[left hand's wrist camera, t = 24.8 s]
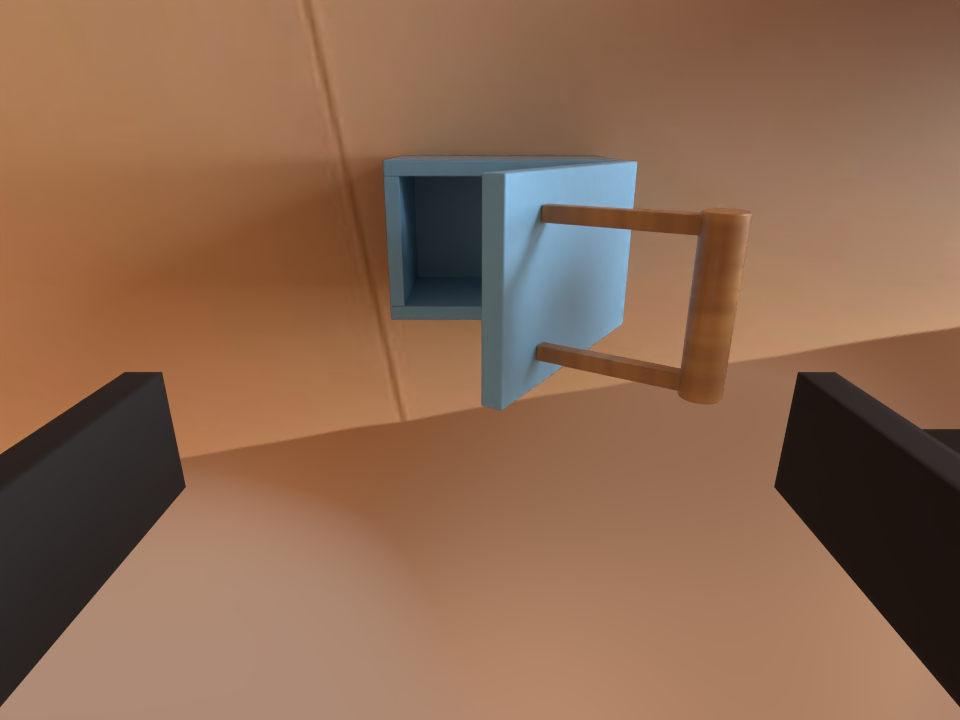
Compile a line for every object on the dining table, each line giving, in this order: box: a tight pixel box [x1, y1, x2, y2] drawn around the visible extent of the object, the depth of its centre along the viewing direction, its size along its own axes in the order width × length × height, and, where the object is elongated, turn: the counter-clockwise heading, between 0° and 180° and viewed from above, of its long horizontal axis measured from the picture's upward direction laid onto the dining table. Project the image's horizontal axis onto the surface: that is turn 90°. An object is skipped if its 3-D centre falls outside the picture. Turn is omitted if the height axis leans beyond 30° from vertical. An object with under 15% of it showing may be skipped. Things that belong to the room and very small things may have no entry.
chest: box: [383, 156, 625, 320], centre depth 38 cm, size 14×9×9 cm
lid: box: [482, 161, 752, 410], centre depth 26 cm, size 14×9×9 cm
